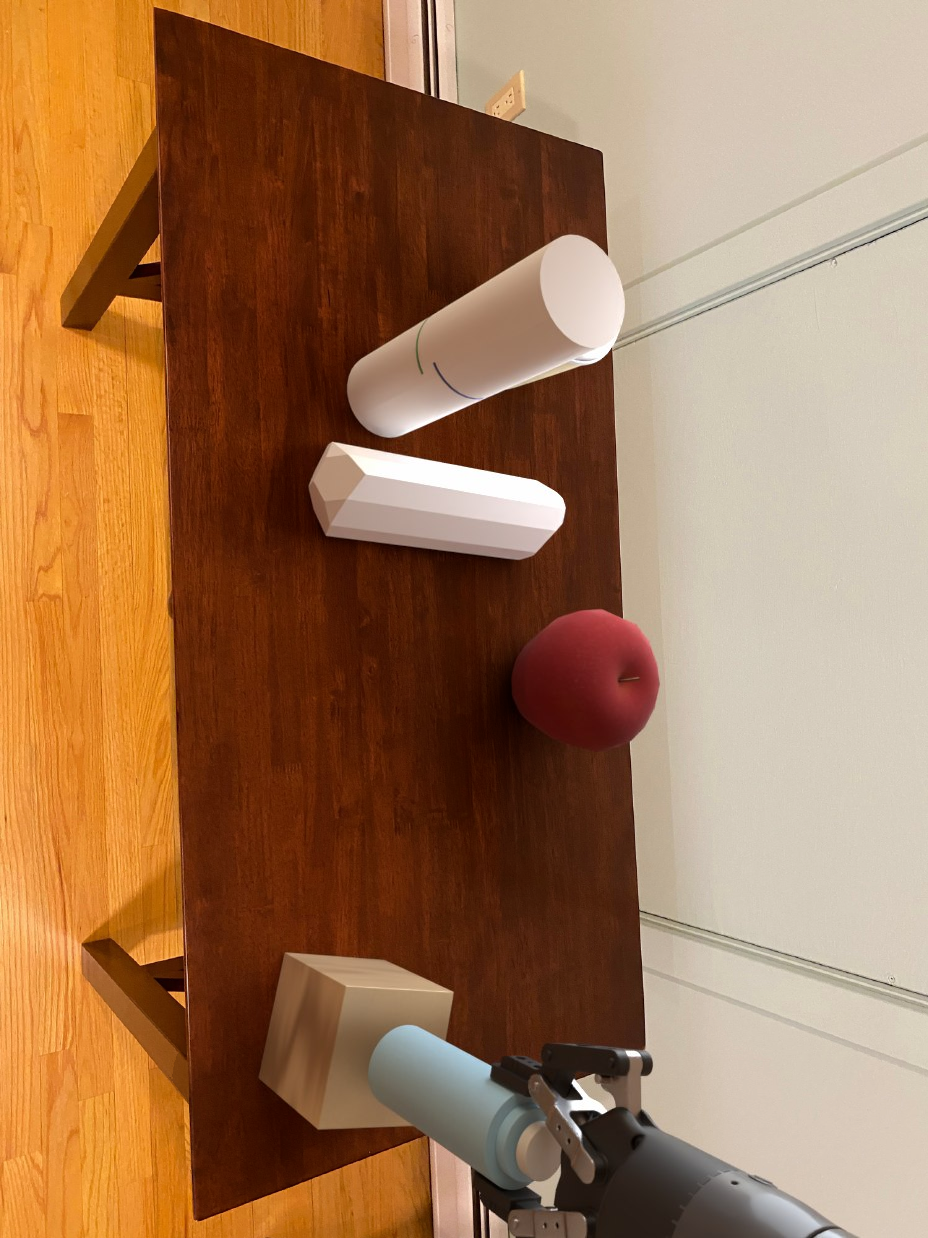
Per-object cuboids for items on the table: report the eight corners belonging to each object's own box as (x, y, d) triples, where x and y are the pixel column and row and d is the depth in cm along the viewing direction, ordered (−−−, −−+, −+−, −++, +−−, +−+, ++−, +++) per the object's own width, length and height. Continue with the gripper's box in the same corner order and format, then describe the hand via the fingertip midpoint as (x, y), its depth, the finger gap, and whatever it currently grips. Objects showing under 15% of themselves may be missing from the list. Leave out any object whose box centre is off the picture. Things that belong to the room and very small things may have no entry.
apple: (499, 600, 85) (600, 586, 74) (591, 638, 91) (697, 630, 80) (471, 729, 82) (572, 734, 71) (568, 759, 88) (674, 768, 77)
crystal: (561, 457, 85) (321, 406, 71) (587, 518, 81) (341, 477, 68) (517, 508, 90) (285, 470, 76) (540, 568, 86) (301, 539, 72)
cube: (362, 1078, 74) (431, 1126, 65) (257, 1078, 69) (317, 1130, 60) (384, 960, 75) (454, 992, 67) (284, 952, 71) (345, 985, 62)
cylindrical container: (379, 453, 78) (579, 367, 58) (331, 379, 76) (521, 263, 56) (434, 411, 82) (640, 316, 61) (389, 339, 80) (588, 216, 59)
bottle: (426, 1106, 63) (573, 1203, 51) (360, 1107, 61) (499, 1210, 48) (440, 1025, 64) (587, 1101, 52) (376, 1023, 62) (515, 1103, 49)
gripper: (690, 1091, 40) (463, 990, 54) (645, 1480, 37) (417, 1266, 51) (797, 1089, 44) (560, 996, 58) (764, 1440, 41) (523, 1252, 55)
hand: (494, 1123), depth 54 cm, fingers closed on bottle, 5 cm apart
